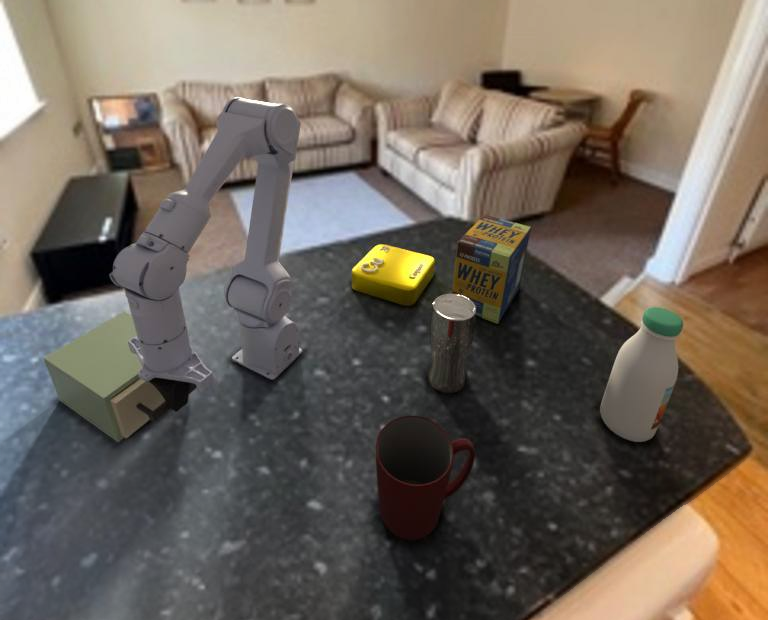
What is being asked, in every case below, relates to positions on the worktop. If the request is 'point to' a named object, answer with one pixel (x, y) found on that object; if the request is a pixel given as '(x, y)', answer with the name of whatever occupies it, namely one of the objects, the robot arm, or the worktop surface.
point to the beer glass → (450, 340)
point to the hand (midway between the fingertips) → (179, 405)
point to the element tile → (393, 274)
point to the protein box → (491, 265)
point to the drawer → (139, 406)
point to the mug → (416, 474)
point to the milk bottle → (643, 377)
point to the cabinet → (96, 371)
